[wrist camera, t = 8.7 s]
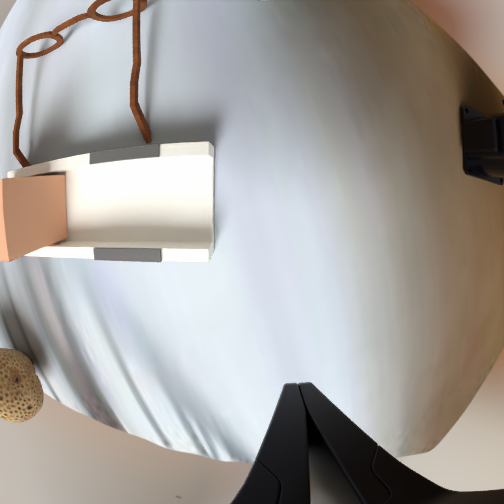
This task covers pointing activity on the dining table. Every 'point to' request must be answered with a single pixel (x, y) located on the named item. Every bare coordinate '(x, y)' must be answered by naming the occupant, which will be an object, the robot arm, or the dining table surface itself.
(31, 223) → the block
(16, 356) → the natural sponge
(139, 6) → the glasses
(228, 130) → the dining table surface
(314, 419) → the robot arm
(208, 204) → the chute
